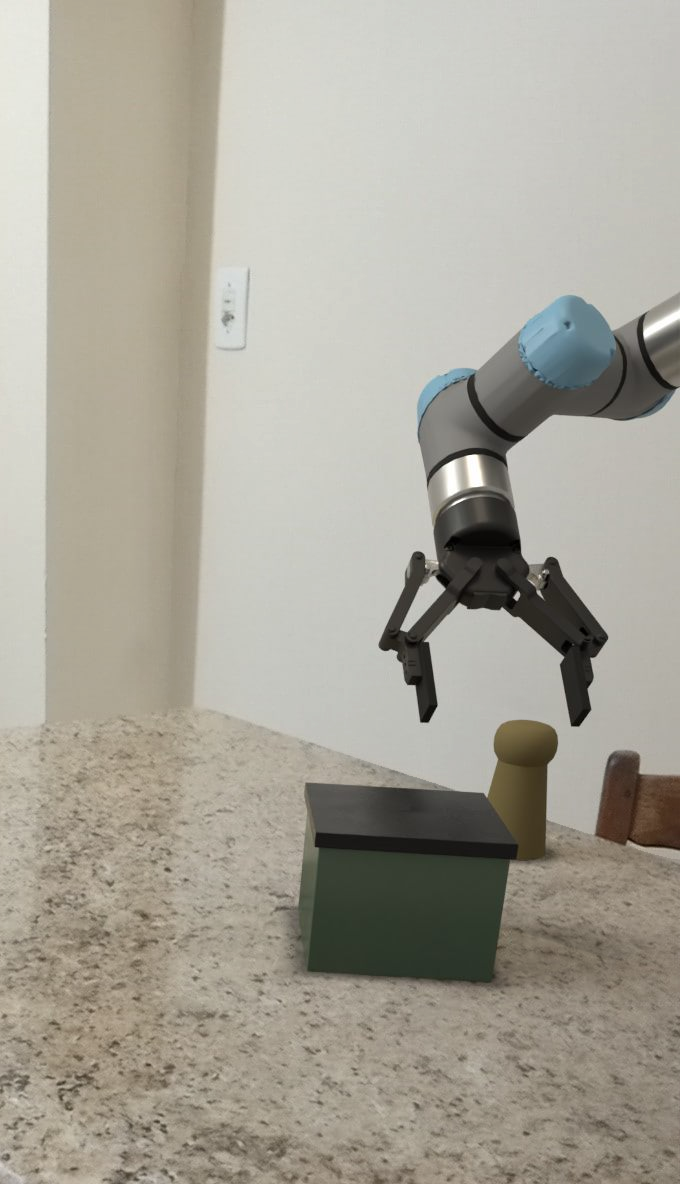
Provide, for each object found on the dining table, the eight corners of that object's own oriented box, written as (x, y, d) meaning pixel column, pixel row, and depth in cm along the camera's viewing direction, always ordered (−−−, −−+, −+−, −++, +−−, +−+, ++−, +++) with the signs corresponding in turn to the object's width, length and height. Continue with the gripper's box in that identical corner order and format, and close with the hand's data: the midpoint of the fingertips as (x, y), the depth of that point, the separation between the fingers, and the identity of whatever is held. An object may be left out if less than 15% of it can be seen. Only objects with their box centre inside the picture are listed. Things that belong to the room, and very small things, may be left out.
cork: (524, 864, 114) (545, 733, 110) (460, 847, 117) (478, 720, 113) (558, 850, 118) (579, 723, 114) (495, 834, 122) (513, 711, 118)
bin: (465, 918, 101) (483, 792, 97) (497, 985, 89) (519, 844, 85) (293, 908, 101) (305, 782, 98) (302, 972, 89) (315, 832, 86)
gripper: (587, 552, 132) (625, 742, 123) (332, 542, 129) (353, 736, 121) (620, 497, 125) (662, 695, 117) (351, 486, 122) (375, 687, 114)
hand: (505, 716), depth 119 cm, fingers open, 13 cm apart
